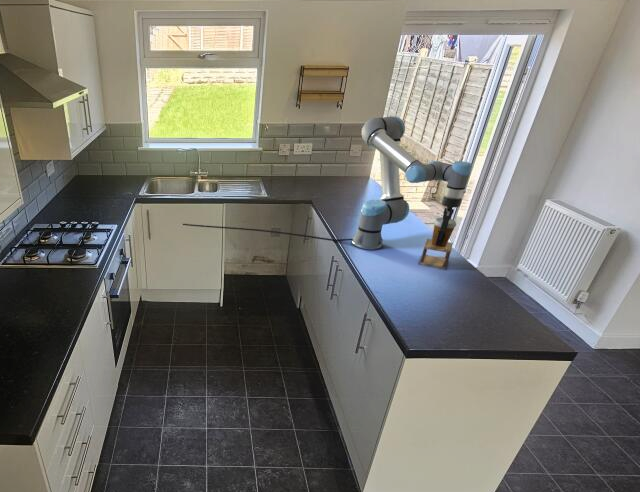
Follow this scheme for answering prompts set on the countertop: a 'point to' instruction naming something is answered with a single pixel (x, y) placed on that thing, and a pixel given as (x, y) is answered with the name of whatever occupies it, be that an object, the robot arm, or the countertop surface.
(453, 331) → the countertop surface
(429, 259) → the oak rack
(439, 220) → the disposable coffee cup
